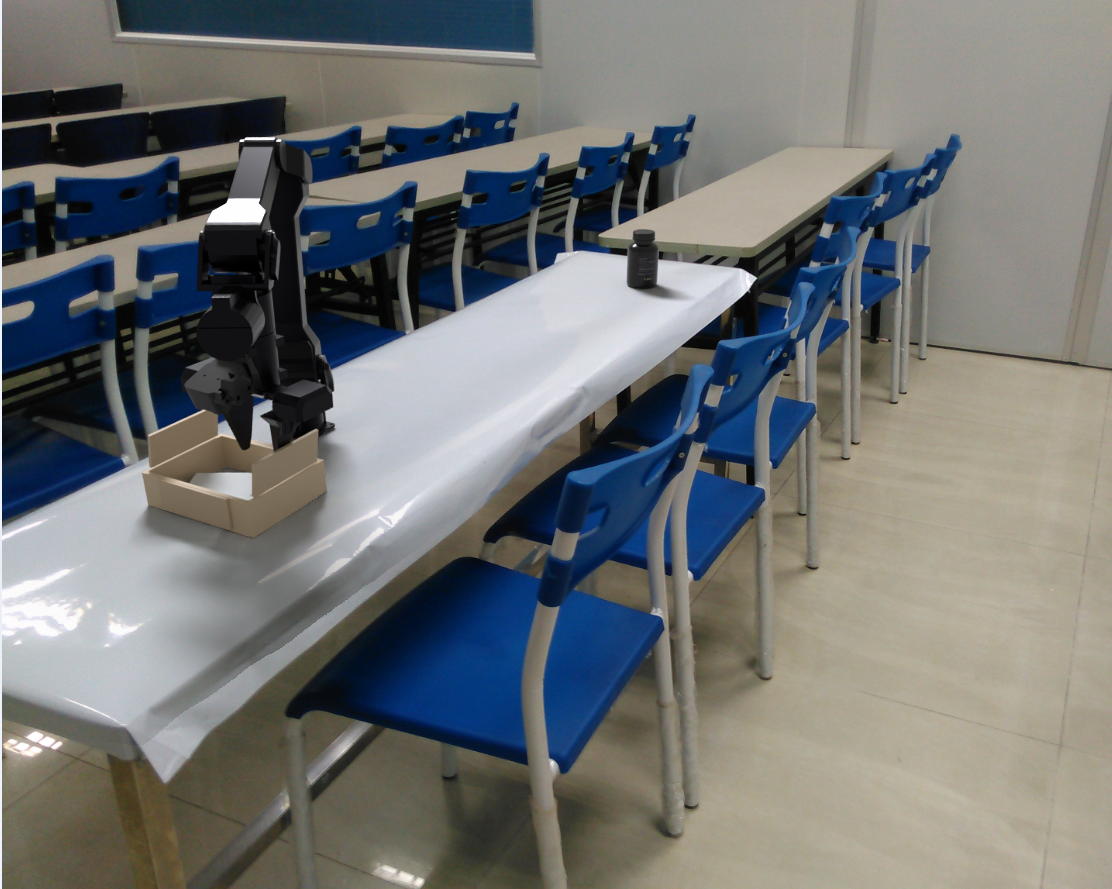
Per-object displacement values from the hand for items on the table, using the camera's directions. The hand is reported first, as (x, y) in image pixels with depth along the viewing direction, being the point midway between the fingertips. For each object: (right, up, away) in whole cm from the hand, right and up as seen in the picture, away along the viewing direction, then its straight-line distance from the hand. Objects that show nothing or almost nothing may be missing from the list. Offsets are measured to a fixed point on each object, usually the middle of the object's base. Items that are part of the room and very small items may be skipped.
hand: (263, 454), depth 115 cm
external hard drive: (-5, -6, +5) cm, 9 cm away
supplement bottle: (+54, +36, +97) cm, 117 cm away
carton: (-5, -6, +5) cm, 9 cm away
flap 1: (-11, +2, +5) cm, 13 cm away
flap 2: (+3, -1, -1) cm, 3 cm away
